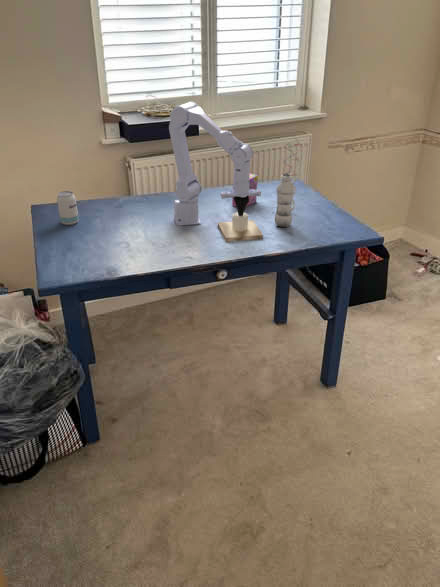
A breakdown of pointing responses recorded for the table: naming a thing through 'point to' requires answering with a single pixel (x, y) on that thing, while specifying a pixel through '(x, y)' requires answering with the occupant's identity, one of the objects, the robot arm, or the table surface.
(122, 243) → the table surface
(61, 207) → the beverage can
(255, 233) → the stud base
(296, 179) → the dna model
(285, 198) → the plastic bottle
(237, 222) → the cap
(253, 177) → the box
